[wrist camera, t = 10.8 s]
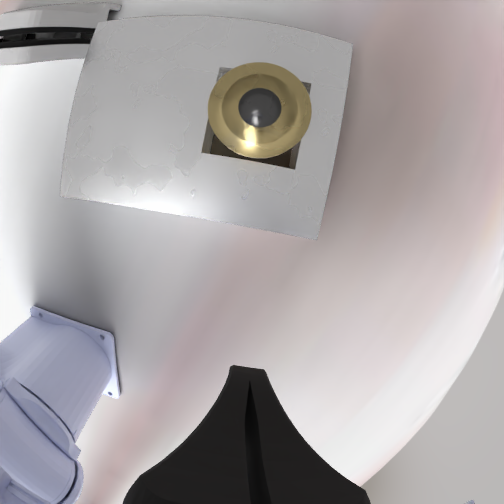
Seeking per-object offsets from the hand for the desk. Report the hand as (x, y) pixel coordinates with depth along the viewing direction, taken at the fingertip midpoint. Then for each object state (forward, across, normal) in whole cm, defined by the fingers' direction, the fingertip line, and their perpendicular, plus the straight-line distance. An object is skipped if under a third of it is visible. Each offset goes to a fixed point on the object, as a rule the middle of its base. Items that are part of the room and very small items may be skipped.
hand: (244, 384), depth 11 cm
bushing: (+9, +1, -11) cm, 14 cm away
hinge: (+10, +22, -18) cm, 30 cm away
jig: (+9, +5, -11) cm, 15 cm away
